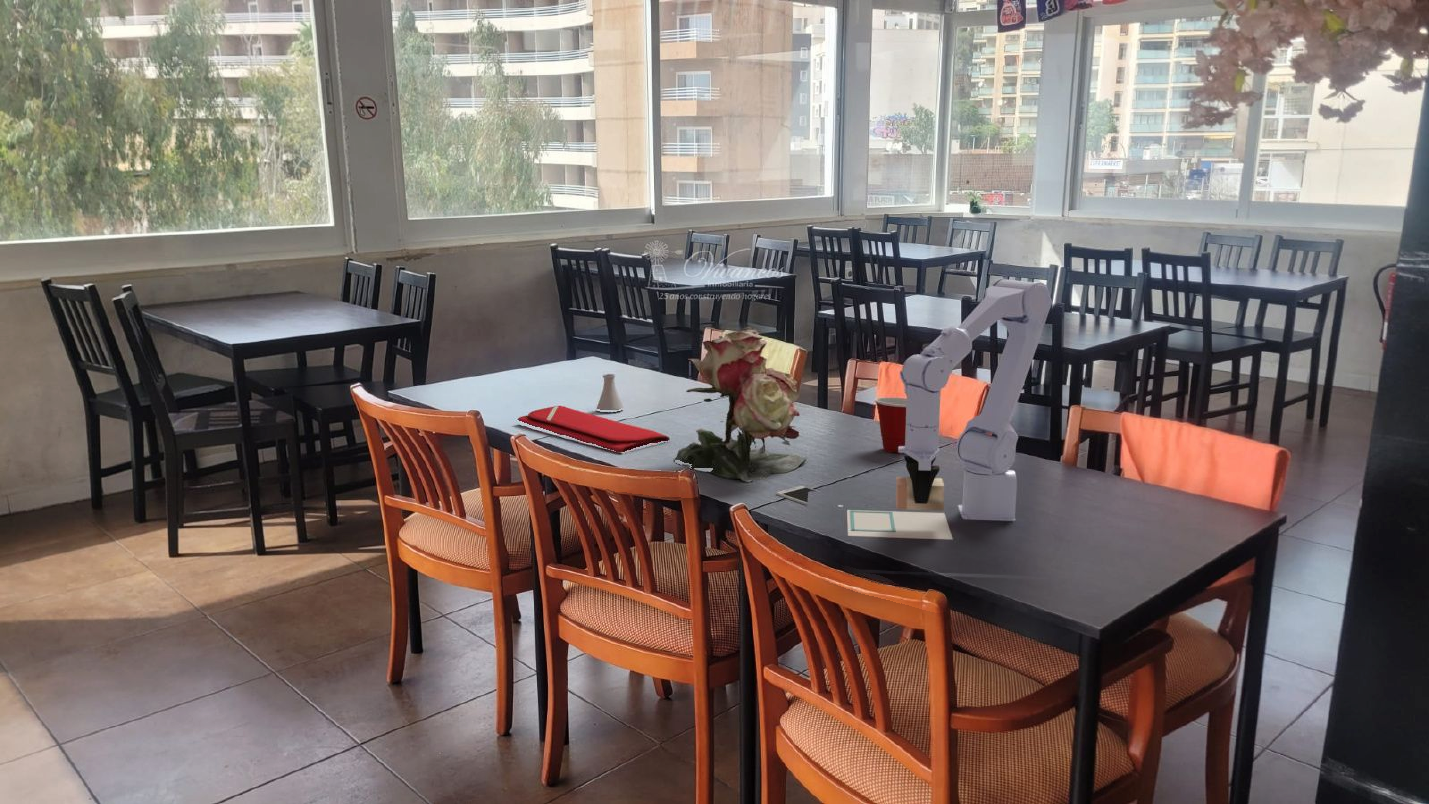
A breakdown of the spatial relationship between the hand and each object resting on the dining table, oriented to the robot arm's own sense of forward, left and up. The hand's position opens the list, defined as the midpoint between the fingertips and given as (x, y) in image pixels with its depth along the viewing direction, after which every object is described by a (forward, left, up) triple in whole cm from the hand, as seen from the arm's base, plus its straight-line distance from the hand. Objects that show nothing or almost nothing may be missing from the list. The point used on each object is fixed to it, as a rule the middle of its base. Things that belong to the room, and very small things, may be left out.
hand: (919, 498), depth 177 cm
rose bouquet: (+34, -41, -6) cm, 54 cm away
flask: (+76, -88, -6) cm, 116 cm away
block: (0, 0, -1) cm, 1 cm away
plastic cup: (+1, -55, -6) cm, 55 cm away
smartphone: (+19, -16, -7) cm, 25 cm away
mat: (+4, -2, -6) cm, 7 cm away
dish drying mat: (+75, -63, -7) cm, 98 cm away
